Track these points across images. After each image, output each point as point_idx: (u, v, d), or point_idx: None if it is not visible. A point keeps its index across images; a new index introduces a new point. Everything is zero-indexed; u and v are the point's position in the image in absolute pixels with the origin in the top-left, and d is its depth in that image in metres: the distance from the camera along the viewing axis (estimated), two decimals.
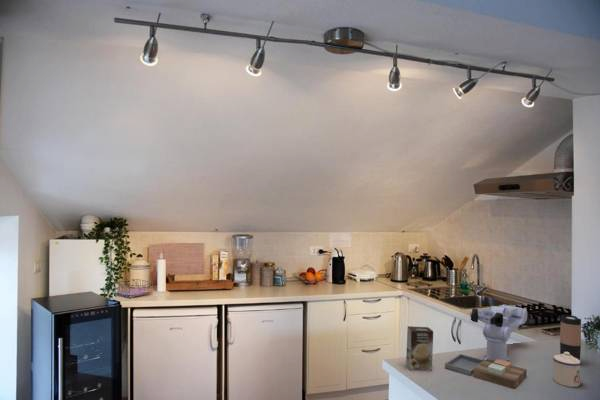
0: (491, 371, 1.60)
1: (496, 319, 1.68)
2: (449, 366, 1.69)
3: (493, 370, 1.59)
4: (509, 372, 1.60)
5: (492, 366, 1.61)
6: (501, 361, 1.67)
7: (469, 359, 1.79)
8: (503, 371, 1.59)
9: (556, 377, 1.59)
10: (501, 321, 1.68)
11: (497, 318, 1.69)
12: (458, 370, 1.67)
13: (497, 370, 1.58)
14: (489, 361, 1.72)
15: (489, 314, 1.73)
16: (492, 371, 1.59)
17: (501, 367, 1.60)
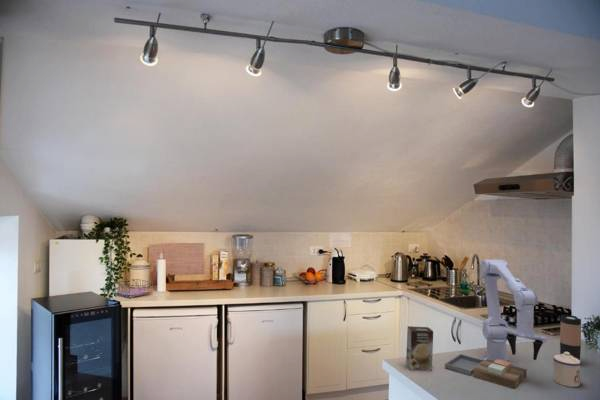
0: (491, 371, 1.60)
1: None
2: (449, 366, 1.69)
3: (493, 370, 1.59)
4: (509, 372, 1.60)
5: (492, 366, 1.61)
6: (501, 361, 1.67)
7: (469, 359, 1.79)
8: (503, 371, 1.59)
9: (556, 377, 1.59)
10: None
11: None
12: (458, 370, 1.67)
13: (497, 370, 1.58)
14: (489, 361, 1.72)
15: None
16: (492, 371, 1.59)
17: (501, 367, 1.60)
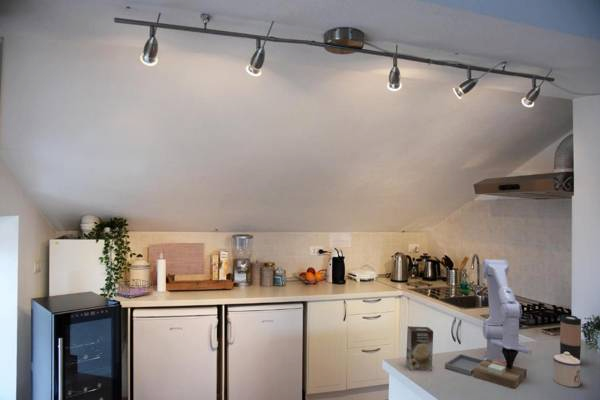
0: (491, 371, 1.60)
1: None
2: (449, 366, 1.69)
3: (493, 370, 1.59)
4: (509, 372, 1.60)
5: (492, 366, 1.61)
6: (499, 361, 1.67)
7: (469, 359, 1.79)
8: (503, 371, 1.59)
9: (556, 377, 1.59)
10: None
11: None
12: (458, 370, 1.67)
13: (497, 370, 1.58)
14: (489, 361, 1.72)
15: None
16: (492, 371, 1.59)
17: (501, 367, 1.60)
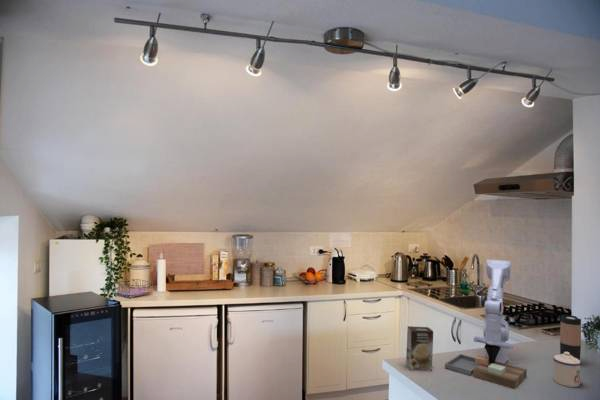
0: (491, 371, 1.60)
1: None
2: (449, 366, 1.69)
3: (493, 370, 1.59)
4: (509, 372, 1.60)
5: (492, 366, 1.61)
6: (482, 356, 1.71)
7: (469, 359, 1.79)
8: (503, 371, 1.59)
9: (556, 377, 1.59)
10: None
11: None
12: (458, 370, 1.67)
13: (497, 370, 1.58)
14: None
15: None
16: (492, 371, 1.59)
17: (501, 367, 1.60)
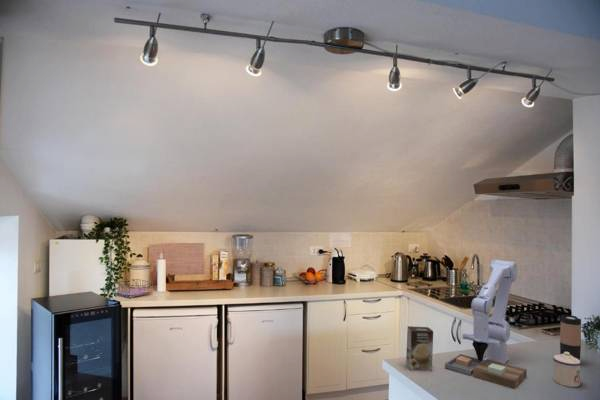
0: (491, 371, 1.60)
1: None
2: (449, 366, 1.69)
3: (493, 370, 1.59)
4: (509, 372, 1.60)
5: (492, 366, 1.61)
6: None
7: None
8: (503, 371, 1.59)
9: (556, 377, 1.59)
10: None
11: None
12: (458, 370, 1.67)
13: (497, 370, 1.58)
14: (489, 361, 1.72)
15: None
16: (492, 371, 1.59)
17: (501, 367, 1.60)
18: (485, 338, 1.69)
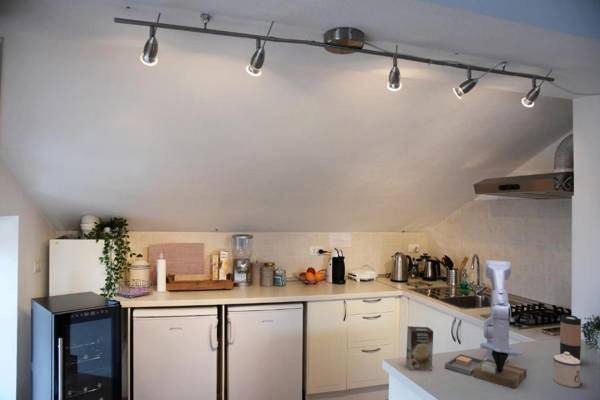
0: (484, 369, 1.61)
1: None
2: (449, 366, 1.69)
3: (486, 369, 1.61)
4: (509, 372, 1.60)
5: (485, 364, 1.63)
6: None
7: None
8: (496, 369, 1.61)
9: (556, 377, 1.59)
10: None
11: None
12: (458, 370, 1.67)
13: (490, 368, 1.60)
14: (489, 361, 1.72)
15: None
16: (486, 369, 1.61)
17: (494, 365, 1.62)
18: (505, 348, 1.57)
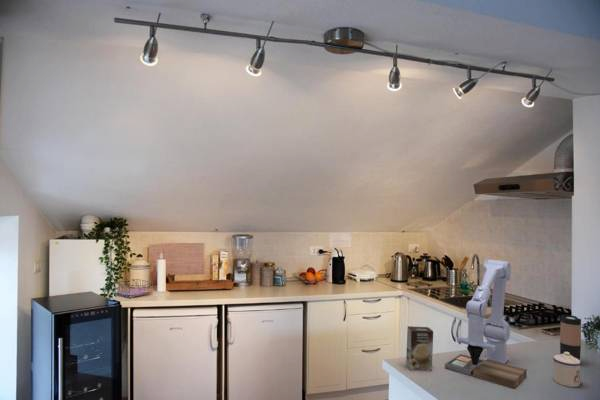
0: (460, 366, 1.68)
1: None
2: (449, 366, 1.69)
3: None
4: (509, 372, 1.60)
5: None
6: None
7: None
8: None
9: (556, 377, 1.59)
10: None
11: None
12: (458, 370, 1.67)
13: None
14: (489, 361, 1.72)
15: None
16: (459, 366, 1.68)
17: None
18: (480, 342, 1.64)
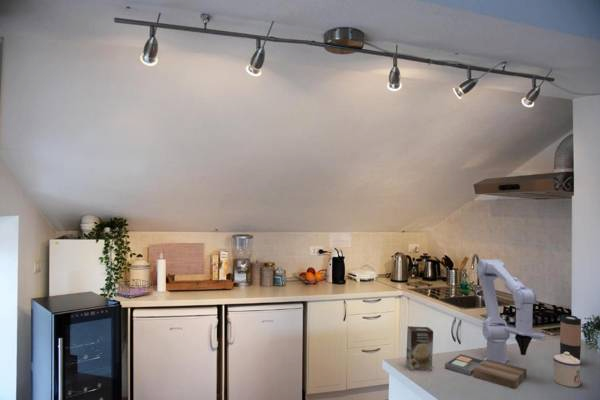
0: (460, 366, 1.68)
1: None
2: (449, 366, 1.69)
3: None
4: (509, 372, 1.60)
5: None
6: None
7: None
8: None
9: (556, 377, 1.59)
10: None
11: None
12: (458, 370, 1.67)
13: None
14: (489, 361, 1.72)
15: None
16: (459, 366, 1.68)
17: None
18: (529, 331, 1.60)
